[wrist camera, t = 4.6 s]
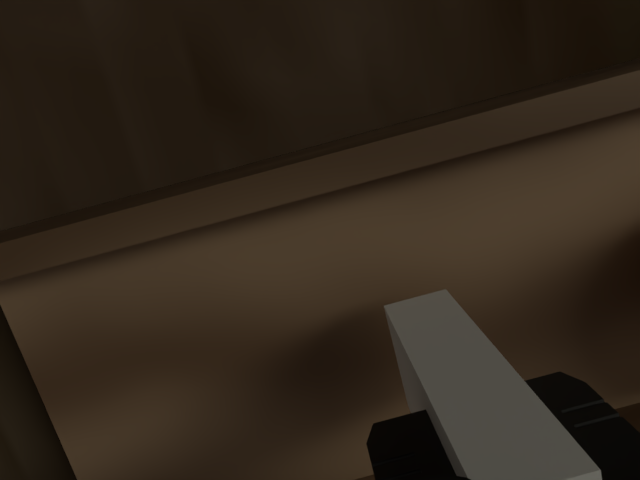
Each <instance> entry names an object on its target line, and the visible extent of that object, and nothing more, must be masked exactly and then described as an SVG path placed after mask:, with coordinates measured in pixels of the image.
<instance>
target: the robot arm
mask: <svg viewBox="0 0 640 480" xmlns="http://www.w3.org/2000/svg"><path fill="white" fill-rule="evenodd" d="M384 309H385V313H386V318H387V322H388V326H389V330H390V334H391V338H392V342H393V346H394V350H395V354H396V358H397V363H398V367H399V371H400V375H401V379H402V383H403V387H404V391H405V395H406V399H407V403H408V407H409V410H410V412H411V413H410V414H406V415H403V416H399V417H395V418H391V419H388V420H384V421H380V422H377V423H373V425H372V428H371V431H370V434H369V437H368V440H367V443H366V444H367V448H368V453H369V457H370V461H371V465H372V469H373V473H374V477H375V480H640V433H639V432H638V431H637V430H636V429H635V428H634V427H633V426H632V425H631V424H630V423H629V422H628V421H627V420H626V419H624V418H623V417H620V416H619V413H618V412H617V411H616V410H615V409H614V408H613V407H612V406H611V405H610V404H608V403H607V402H606V403H605V402H604V399H603V398H602V397H601V396H600V395H599V394H598V393H597V392H596V391H595V390H594V389H592V388H591V387H590V386H589V385H588V384H587V383H586V382H584V381H582V380H579V379H577V378H574V377H572V376H570V375H567V374H565V373H563V372H560V371H559V372H555V373H552V374H548V375H544V376H541V377H537V378H533V379H529V380H526V381H524V380H523V379H522V378H521V376H520V375H519V374H518V373H517V372H516V371H515V369H514V368H513V367H512V366H511V365H510V364H509V362H508V361H507V360H506V359H505V358H504V357H503V355H502V354H501V353H500V352H499V351H498V350H497V348H496V347H495V346H494V345H493V344H492V342H491V341H490V340H489V339H488V338H487V337H486V335H485V334H484V333H483V332H482V331H481V330H480V328H479V327H478V326H477V325H476V324H475V323H474V321H473V320H472V319H471V318H470V317H469V316H468V314H467V313H466V312H465V311H464V310H463V309H462V307H461V306H460V305H459V304H458V303H457V302H456V300H455V299H454V298H453V297H452V296H451V295H450V293H449V292H448V291H447V290H446V289H444V290H441V291H437V292H433V293H429V294H426V295H422V296H418V297H414V298H411V299H407V300H403V301H400V302H396V303H392V304H388V305H385V306H384Z"/></svg>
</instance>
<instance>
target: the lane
mask: <svg viewBox="0 0 640 480" xmlns="http://www.w3.org/2000/svg"><path fill="white" fill-rule="evenodd" d="M444 289H446V290H447V291H448V292H449V293H450V295H451V296H452V297H453V298H454V299H455V300H456V302H457V303H458V304H459V305H460V306H461V307H462V309H463V310H464V311H465V312H466V313H467V314H468V316H469V317H470V318H471V319H472V320H473V321H474V323H475V324H476V325H477V326H478V327H479V328H480V330H481V331H482V332H483V333H484V334H485V335H486V337H487V338H488V339H489V340H490V341H491V342H492V344H493V345H494V346H495V347H496V348H497V350H498V351H499V352H500V353H501V354H502V355H503V357H504V358H505V359H506V360H507V361H508V362H509V364H510V365H511V366H512V367H513V368H514V369H515V371H516V372H517V373H518V374H519V375H520V376H521V378H522V379H523V380H524V381H526V380H529V379H533V378H537V377H541V376H544V375H548V374H552V373H555V372H559V371H560V372H563V373H565V374H567V375H570V376H572V377H574V378H577V379H579V380H582V381H584V382H586V383H587V384H588V385H589V386H590V387H591V388H592V389H594V390H595V391H596V392H597V393H598V394H599V395H600V396H601V397H602V398H603V399H604V402H605V403H606V402H607V403H608V404H610V405H611V406H612V407H613V408H614V409H615V410H616V411H617V412H618V413H619V416H620V417H623V418H624V419H626V420H627V421H628V422H629V423H630V424H631V425H632V426H633V427H634V428H635V429H636V430H637V431H638V432H639V433H640V58H639V59H635V60H631V61H627V62H624V63H620V64H616V65H613V66H609V67H605V68H602V69H598V70H594V71H591V72H587V73H583V74H579V75H576V76H572V77H568V78H565V79H561V80H557V81H554V82H550V83H546V84H543V85H539V86H535V87H531V88H528V89H524V90H520V91H517V92H513V93H509V94H506V95H502V96H498V97H495V98H491V99H487V100H483V101H480V102H476V103H472V104H469V105H465V106H461V107H458V108H454V109H450V110H447V111H443V112H439V113H435V114H432V115H428V116H424V117H421V118H417V119H413V120H410V121H406V122H402V123H398V124H395V125H391V126H387V127H384V128H380V129H376V130H373V131H369V132H365V133H362V134H358V135H354V136H350V137H347V138H343V139H339V140H336V141H332V142H328V143H325V144H321V145H317V146H314V147H310V148H306V149H302V150H299V151H295V152H291V153H288V154H284V155H280V156H277V157H273V158H269V159H266V160H262V161H258V162H254V163H251V164H247V165H243V166H240V167H236V168H232V169H229V170H225V171H221V172H218V173H214V174H210V175H206V176H203V177H199V178H195V179H192V180H188V181H184V182H181V183H177V184H173V185H170V186H166V187H162V188H158V189H155V190H151V191H147V192H144V193H140V194H136V195H133V196H129V197H125V198H122V199H118V200H114V201H110V202H107V203H103V204H99V205H96V206H92V207H88V208H85V209H81V210H77V211H74V212H70V213H66V214H62V215H59V216H55V217H51V218H48V219H44V220H40V221H37V222H33V223H29V224H26V225H22V226H18V227H14V228H11V229H7V230H3V231H0V305H1V307H2V310H3V312H4V314H5V316H6V319H7V321H8V323H9V326H10V328H11V330H12V332H13V335H14V337H15V339H16V341H17V344H18V346H19V348H20V351H21V353H22V355H23V357H24V360H25V362H26V364H27V367H28V369H29V371H30V373H31V376H32V378H33V380H34V382H35V385H36V387H37V389H38V392H39V394H40V396H41V398H42V401H43V403H44V405H45V407H46V410H47V412H48V414H49V417H50V419H51V421H52V423H53V426H54V428H55V430H56V433H57V435H58V437H59V439H60V442H61V444H62V446H63V448H64V451H65V453H66V455H67V458H68V460H69V462H70V464H71V467H72V469H73V471H74V473H75V476H76V478H77V480H375V477H374V473H373V469H372V465H371V461H370V457H369V453H368V448H367V444H366V443H367V440H368V437H369V434H370V431H371V428H372V425H373V423H377V422H380V421H384V420H388V419H391V418H395V417H399V416H403V415H406V414H410V413H411V412H410V410H409V407H408V403H407V399H406V395H405V391H404V387H403V383H402V379H401V375H400V371H399V367H398V363H397V358H396V354H395V350H394V346H393V342H392V338H391V334H390V330H389V326H388V322H387V318H386V313H385V309H384V306H385V305H388V304H392V303H396V302H400V301H403V300H407V299H411V298H414V297H418V296H422V295H426V294H429V293H433V292H437V291H441V290H444Z"/></svg>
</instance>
